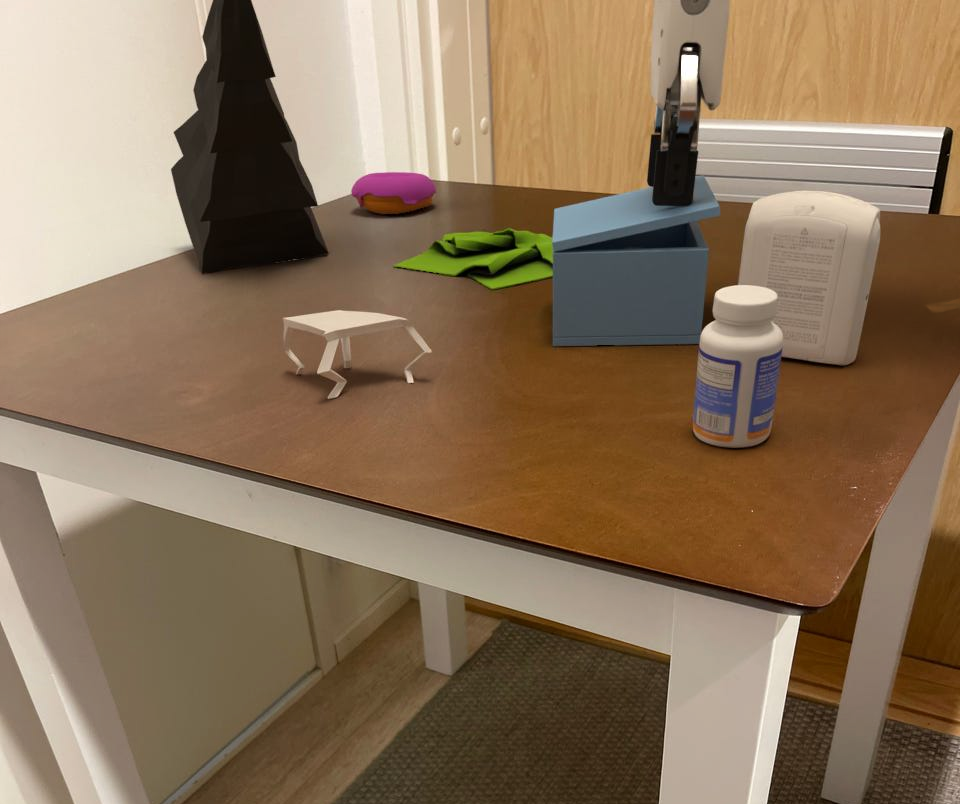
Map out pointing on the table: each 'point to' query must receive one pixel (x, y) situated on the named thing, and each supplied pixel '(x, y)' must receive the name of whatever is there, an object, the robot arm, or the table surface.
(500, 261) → the cloth
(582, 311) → the case
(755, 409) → the pill bottle
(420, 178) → the donut
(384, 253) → the table surface
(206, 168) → the decorative tree
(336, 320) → the origami figure
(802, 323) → the photo printer
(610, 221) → the case lid
